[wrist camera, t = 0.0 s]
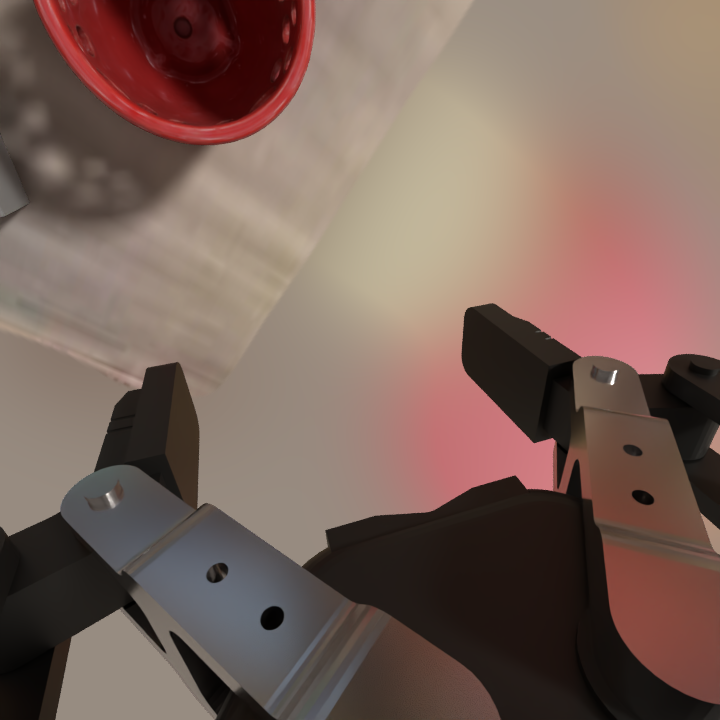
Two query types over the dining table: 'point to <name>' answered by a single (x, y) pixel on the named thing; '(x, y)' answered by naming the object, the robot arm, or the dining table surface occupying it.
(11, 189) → the slate base block
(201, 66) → the plant pot
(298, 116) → the dining table surface
